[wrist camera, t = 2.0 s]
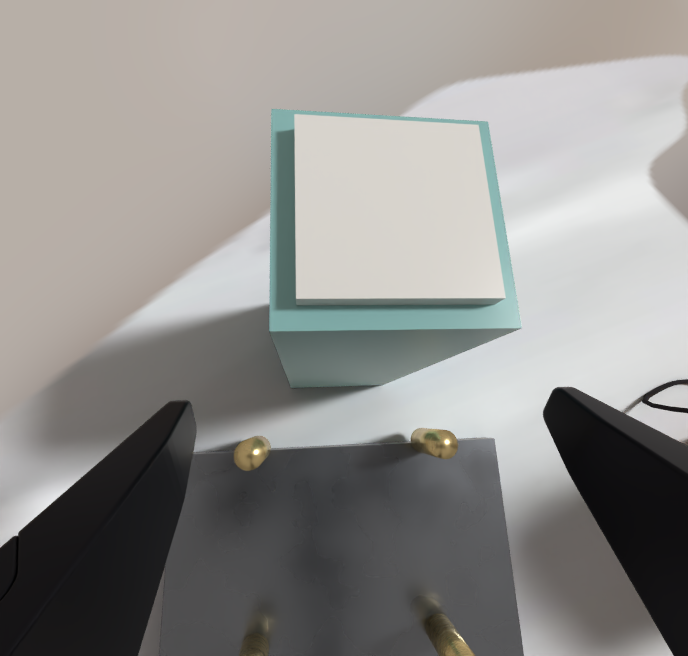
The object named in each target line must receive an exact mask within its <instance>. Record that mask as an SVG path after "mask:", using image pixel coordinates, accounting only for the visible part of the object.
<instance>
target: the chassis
mask: <svg viewBox="0 0 688 656" xmlns="http://www.w3.org/2000/svg"><path fill="white" fill-rule="evenodd" d="M159 656H524V654H523V646H522V639H521V631H520V624H519V617H518V609H517V602H516V594H515V587H514V580H513V572H512V565H511V558H510V550H509V543H508V535H507V528H506V521H505V513H504V506H503V498H502V491H501V484H500V476H499V469H498V462H497V454H496V447H495V439H494V438H466V439H456V437H455V435H454V434H453V433H451V432H450V431H447V430H439V429H427V428H418V429H416V430H415V431H414V432H413V433H412V435H411V441H407V442H388V443H368V444H349V445H329V446H310V447H290V448H271V446H270V443H269V441H268V439H266V438H265V437H263V436H254V437H252V438H249V439H247V440H244V441H242V442H241V443H239V444H238V446H237V447H236V449H235V450H232V451H213V452H193V456H192V461H191V467H190V473H189V478H188V484H187V489H186V494H185V499H184V503H183V507H182V510H181V514H180V517H179V520H178V524H177V527H176V530H175V534H174V537H173V540H172V543H171V547H170V550H169V553H168V557H167V560H166V566H165V580H164V594H163V608H162V623H161V637H160V651H159Z"/></svg>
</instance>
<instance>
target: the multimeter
mask: <svg viewBox="0 0 688 656" xmlns="http://www.w3.org/2000/svg"><path fill="white" fill-rule="evenodd" d="M682 383H688V380H687V379H686V380H676V381H672V382H669V383H666V384H664V385H662V386H660V387H658V388H656V389H654V390H652V391H651V392H649V393H647V394H646V395H645V396H644V398H643V400H642V402H643V403H645V404H647V405H649V406H651V407H653V408H658V409H663V410H668V411H674V412H683V413H688V408H679V407H670V406H665V405H659V404H654V403H651V402H649V401H648V400H649V398H650V397H652V396H653V395H655V394H657V393H658V392H660V391H662V390H664V389H666V388H668V387H671V386H674V385H677V384H682Z"/></svg>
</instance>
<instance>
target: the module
mask: <svg viewBox="0 0 688 656" xmlns="http://www.w3.org/2000/svg"><path fill="white" fill-rule="evenodd" d="M271 115H272V117H271V214H270V315H269V332H270V334H271V337H272V340H273V342H274V345H275V347H276V350H277V353H278V355H279V358H280V360H281V363H282V366H283V368H284V371H285V373H286V376H287V379H288V381H289V384H290V386H291V388H307V387H338V386H369V385H384V384H386V383H389V382H391V381H394V380H396V379H399V378H401V377H404V376H406V375H408V374H411V373H413V372H416V371H418V370H421V369H423V368H426V367H428V366H430V365H433V364H435V363H438V362H440V361H443V360H445V359H448V358H450V357H452V356H455V355H457V354H460V353H462V352H465V351H467V350H470V349H472V348H474V347H477V346H479V345H482V344H484V343H487V342H489V341H492V340H494V339H496V338H499V337H501V336H504V335H506V334H509V333H511V332H514V331H516V330H518V329H521V328H522V326H521V320H520V314H519V307H518V301H517V295H516V289H515V283H514V277H513V271H512V265H511V259H510V253H509V247H508V241H507V235H506V229H505V223H504V216H503V210H502V204H501V198H500V192H499V186H498V180H497V174H496V168H495V162H494V156H493V150H492V144H491V138H490V132H489V126H488V122H484V121H467V120H450V119H434V118H417V117H400V116H382V115H366V114H349V113H332V112H316V111H299V110H281V109H272V113H271Z"/></svg>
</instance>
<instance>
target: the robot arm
mask: <svg viewBox="0 0 688 656" xmlns="http://www.w3.org/2000/svg"><path fill="white" fill-rule="evenodd" d="M543 417H544V421H545V423H546V425H547V427H548V429H549V432H550V434H551V436H552V438H553V440H554V442H555V445H556V447H557V449H558V451H559V453H560V456H561V458H562V460H563V462H564V464H565V466H566V468H567V470H568V473H569V475H570V476H571V478H572V480H573V482H574V484H575V485H576V487H577V489H578V491H579V492H580V494H581V496H582V498H583V499H584V501H585V503H586V504H587V506H588V508H589V510H590V511H591V513H592V515H593V517H594V518H595V520H596V522H597V524H598V525H599V527H600V529H601V530H602V532H603V534H604V536H605V537H606V539H607V541H608V543H609V544H610V546H611V548H612V550H613V551H614V553H615V555H616V556H617V558H618V560H619V562H620V563H621V565H622V567H623V569H624V570H625V572H626V574H627V576H628V577H629V579H630V581H631V582H632V584H633V586H634V588H635V589H636V591H637V593H638V595H639V596H640V598H641V600H642V602H643V603H644V605H645V607H646V608H647V610H648V612H649V614H650V615H651V617H652V619H653V621H654V622H655V624H656V626H657V628H658V629H659V631H660V633H661V634H662V636H663V638H664V640H665V641H666V643H667V645H668V647H669V648H670V650H671V652H672V654H673V655H674V656H688V446H687V445H685V444H683V443H681V442H679V441H677V440H675V439H673V438H671V437H669V436H667V435H665V434H663V433H661V432H659V431H657V430H655V429H653V428H651V427H650V426H648V425H646V424H644V423H642V422H640V421H638V420H636V419H634V418H632V417H630V416H628V415H626V414H624V413H622V412H620V411H618V410H616V409H614V408H613V407H611V406H609V405H607V404H605V403H603V402H601V401H599V400H597V399H595V398H593V397H591V396H589V395H587V394H585V393H583V392H581V391H579V390H577V389H575V388H573V387H557V388H555V389H554V390H553V391H552V393H551V395H550V397H549V399H548V401H547V404H546V406H545V408H544V410H543ZM195 439H196V422H195V418H194V414H193V409H192V405H191V403H190V402H189V401H188V400H177V401H170V402H168V403H167V404H166V405H165V406H164V407H162V408H161V409H160V410H159V411H158V412H157V413H156V414H154V415H153V416H152V417H151V418H150V419H149V420H147V421H146V422H145V423H144V424H143V425H142V426H141V427H139V428H138V429H137V430H136V431H135V432H134V433H132V434H131V435H130V436H129V437H128V438H127V439H126V440H124V441H123V442H122V443H121V444H120V445H119V446H117V447H116V448H115V449H114V450H113V451H112V452H111V453H109V454H108V455H107V456H106V457H105V458H104V459H102V460H101V461H100V462H99V463H98V464H97V465H96V466H94V467H93V468H92V469H91V470H90V471H89V472H87V473H86V474H85V475H84V476H83V477H82V478H81V479H79V480H78V481H77V482H76V483H75V484H74V485H72V486H71V487H70V488H69V489H68V490H67V491H66V492H64V493H63V494H62V495H61V496H60V497H59V498H57V499H56V500H55V501H54V502H53V503H52V504H51V505H49V506H48V507H47V508H46V509H45V510H44V511H42V512H41V513H40V514H39V515H38V516H37V517H35V518H34V519H33V520H32V521H31V522H30V523H29V524H27V525H26V526H25V527H24V528H23V529H22V530H20V531H19V533H18V536H14V537H12V538H11V539H10V540H9V541H8V542H6V543H5V544H4V545H3V546H2V547H1V548H0V656H138V653H139V650H140V646H141V643H142V640H143V636H144V633H145V630H146V627H147V623H148V620H149V617H150V613H151V610H152V607H153V603H154V600H155V597H156V593H157V590H158V587H159V583H160V580H161V577H162V573H163V570H164V567H165V563H166V560H167V557H168V553H169V550H170V547H171V543H172V540H173V537H174V534H175V530H176V527H177V524H178V520H179V517H180V514H181V510H182V507H183V503H184V499H185V494H186V489H187V484H188V478H189V473H190V467H191V461H192V456H193V450H194V445H195Z"/></svg>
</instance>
